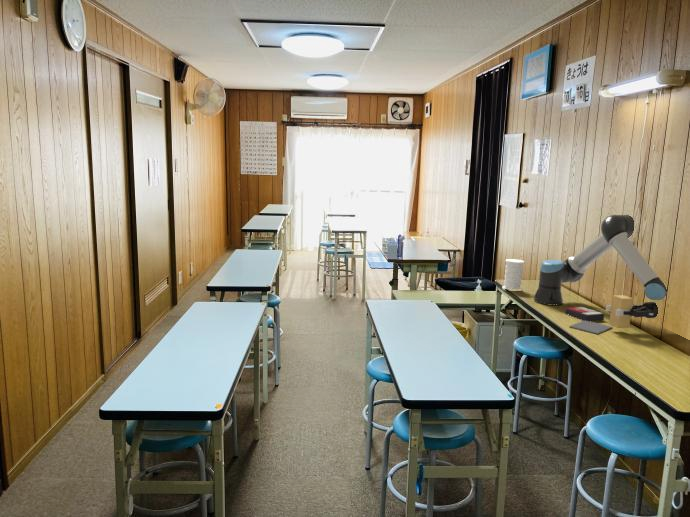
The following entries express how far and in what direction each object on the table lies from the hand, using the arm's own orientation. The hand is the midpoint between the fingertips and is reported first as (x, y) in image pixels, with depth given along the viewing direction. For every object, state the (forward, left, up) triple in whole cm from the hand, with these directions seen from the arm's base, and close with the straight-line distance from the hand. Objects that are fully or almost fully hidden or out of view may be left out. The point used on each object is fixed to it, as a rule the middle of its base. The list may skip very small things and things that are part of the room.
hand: (611, 310), depth 248 cm
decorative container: (-39, -73, -11) cm, 83 cm away
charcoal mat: (0, -8, -10) cm, 13 cm away
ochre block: (-4, +3, -8) cm, 9 cm away
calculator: (-16, -18, -11) cm, 27 cm away
